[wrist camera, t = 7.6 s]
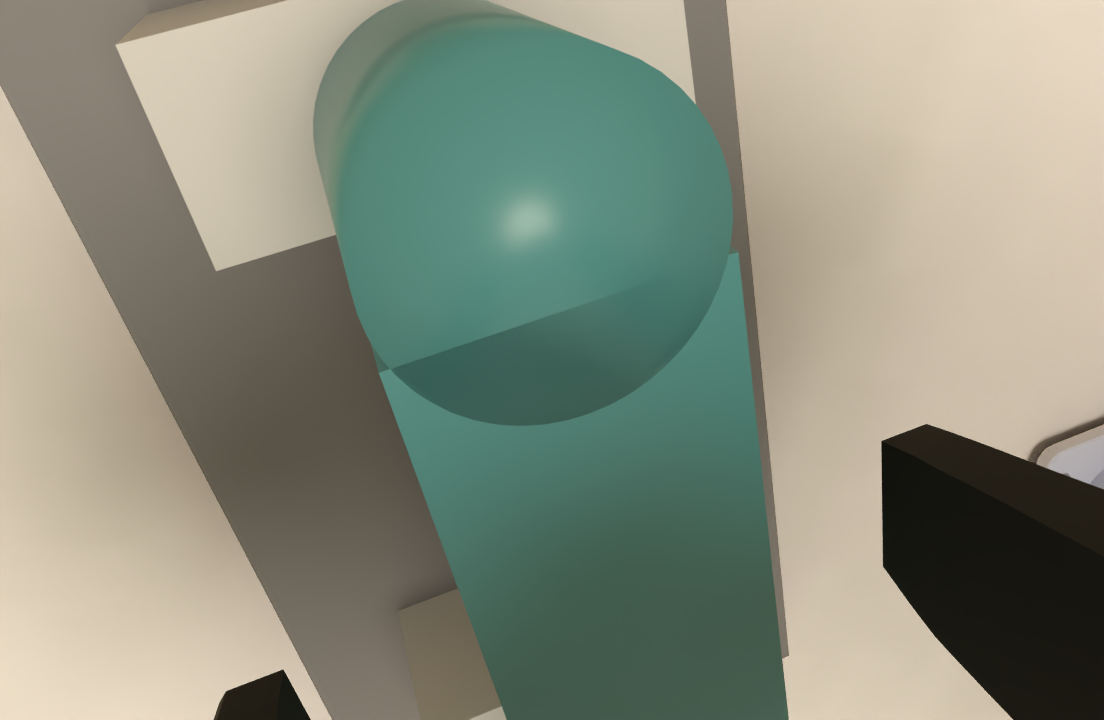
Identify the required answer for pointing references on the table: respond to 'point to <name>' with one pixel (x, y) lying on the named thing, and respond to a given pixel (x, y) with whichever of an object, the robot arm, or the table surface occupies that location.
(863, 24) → the table surface
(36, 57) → the display stand
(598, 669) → the teal dome-capped pillar
